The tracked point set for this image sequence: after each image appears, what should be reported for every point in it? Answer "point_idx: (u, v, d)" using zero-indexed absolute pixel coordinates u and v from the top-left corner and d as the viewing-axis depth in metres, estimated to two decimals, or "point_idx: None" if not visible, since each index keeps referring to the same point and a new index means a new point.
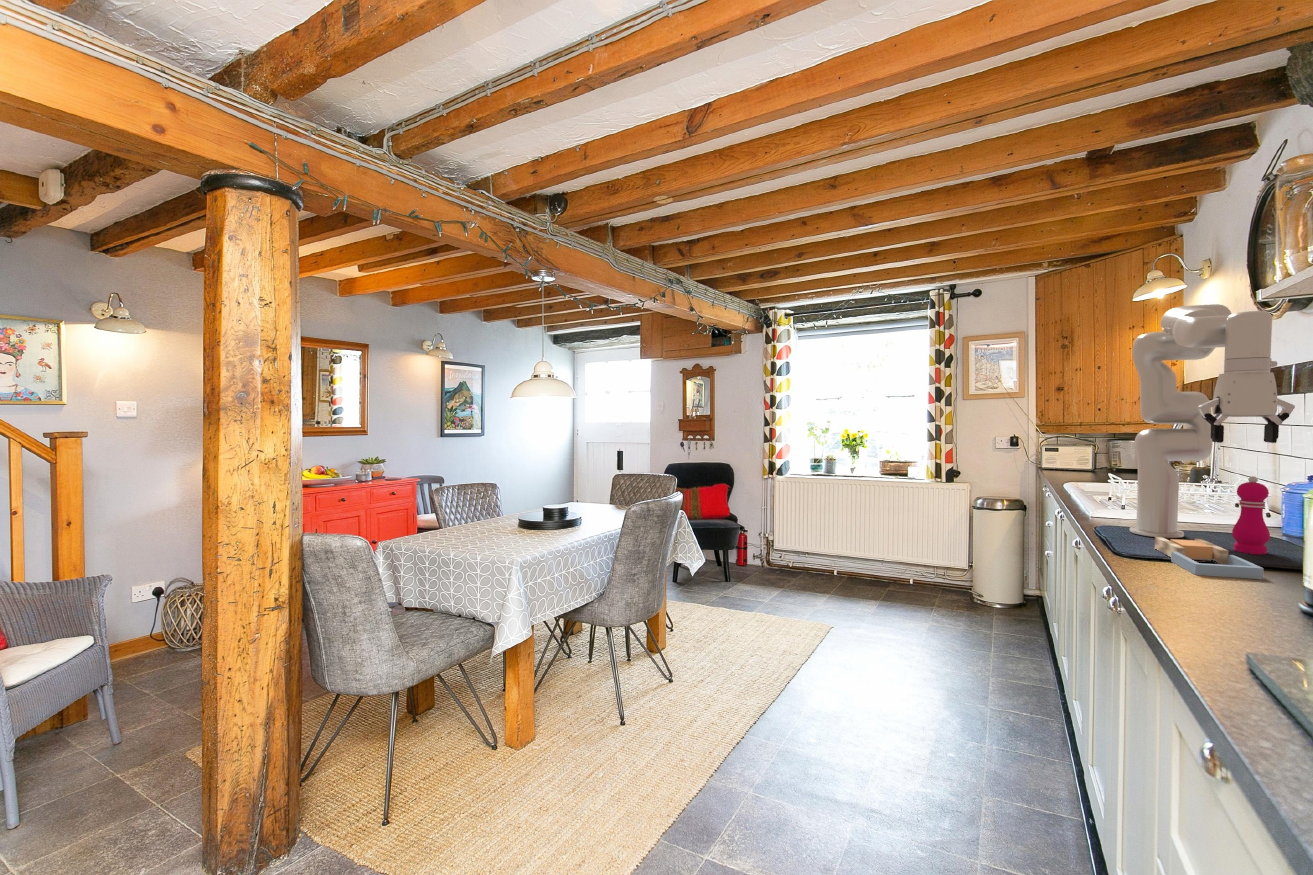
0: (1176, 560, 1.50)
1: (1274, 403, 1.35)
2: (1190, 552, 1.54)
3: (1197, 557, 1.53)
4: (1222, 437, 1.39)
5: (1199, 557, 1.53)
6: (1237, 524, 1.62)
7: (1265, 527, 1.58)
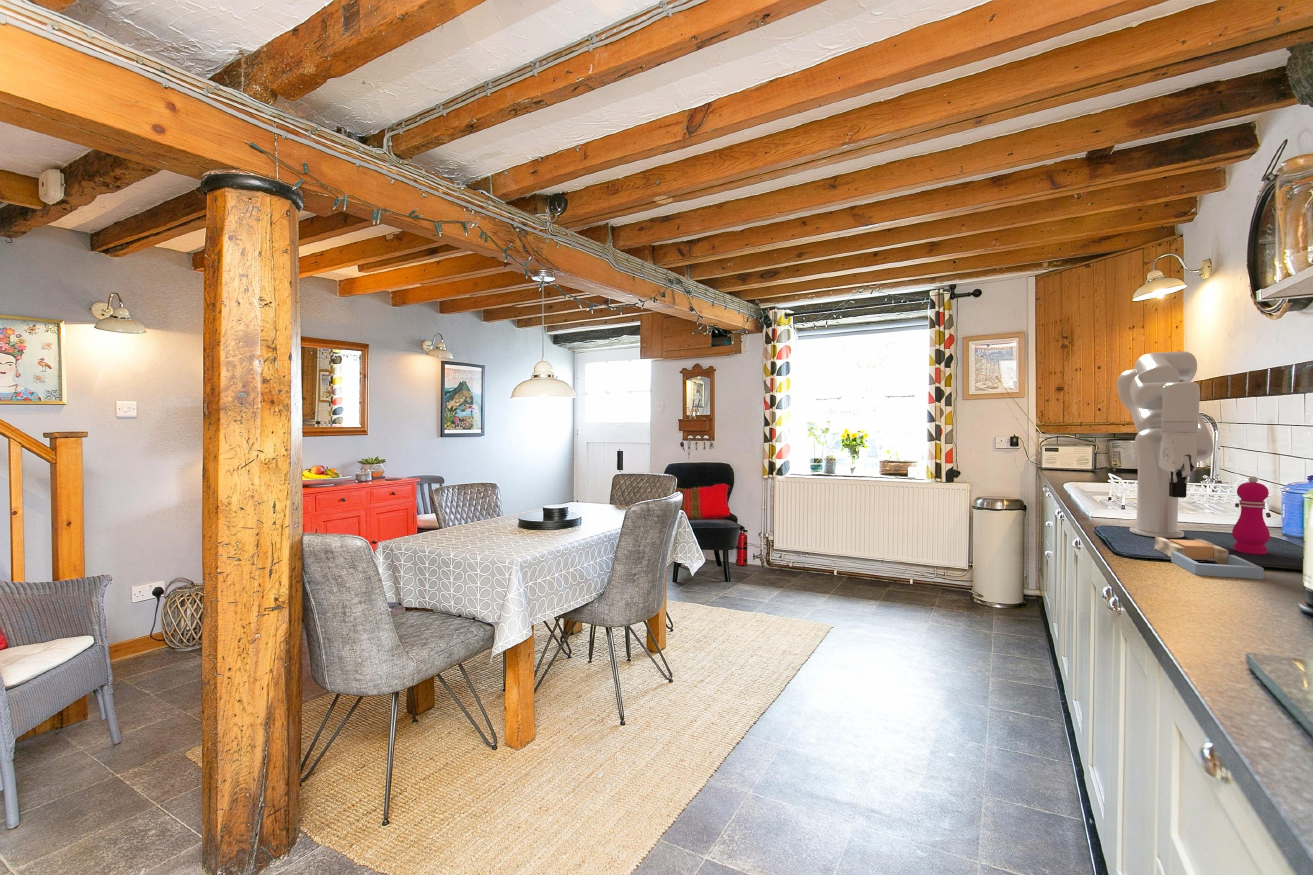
0: (1176, 560, 1.50)
1: None
2: (1192, 552, 1.53)
3: (1199, 557, 1.53)
4: None
5: (1200, 557, 1.53)
6: (1237, 524, 1.62)
7: (1265, 527, 1.58)
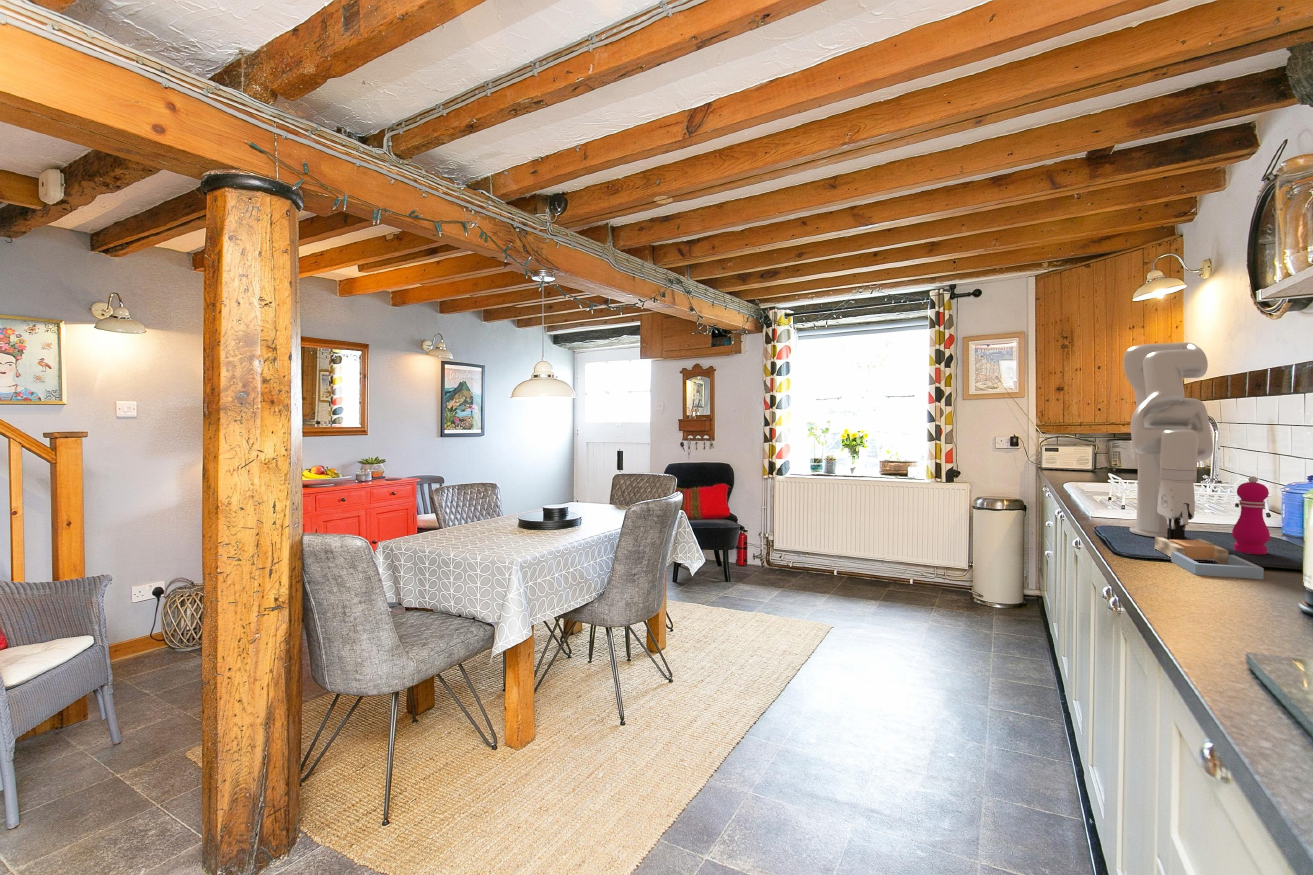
0: (1176, 560, 1.50)
1: None
2: (1193, 552, 1.53)
3: (1199, 557, 1.53)
4: None
5: (1201, 557, 1.53)
6: (1237, 524, 1.62)
7: (1265, 527, 1.58)
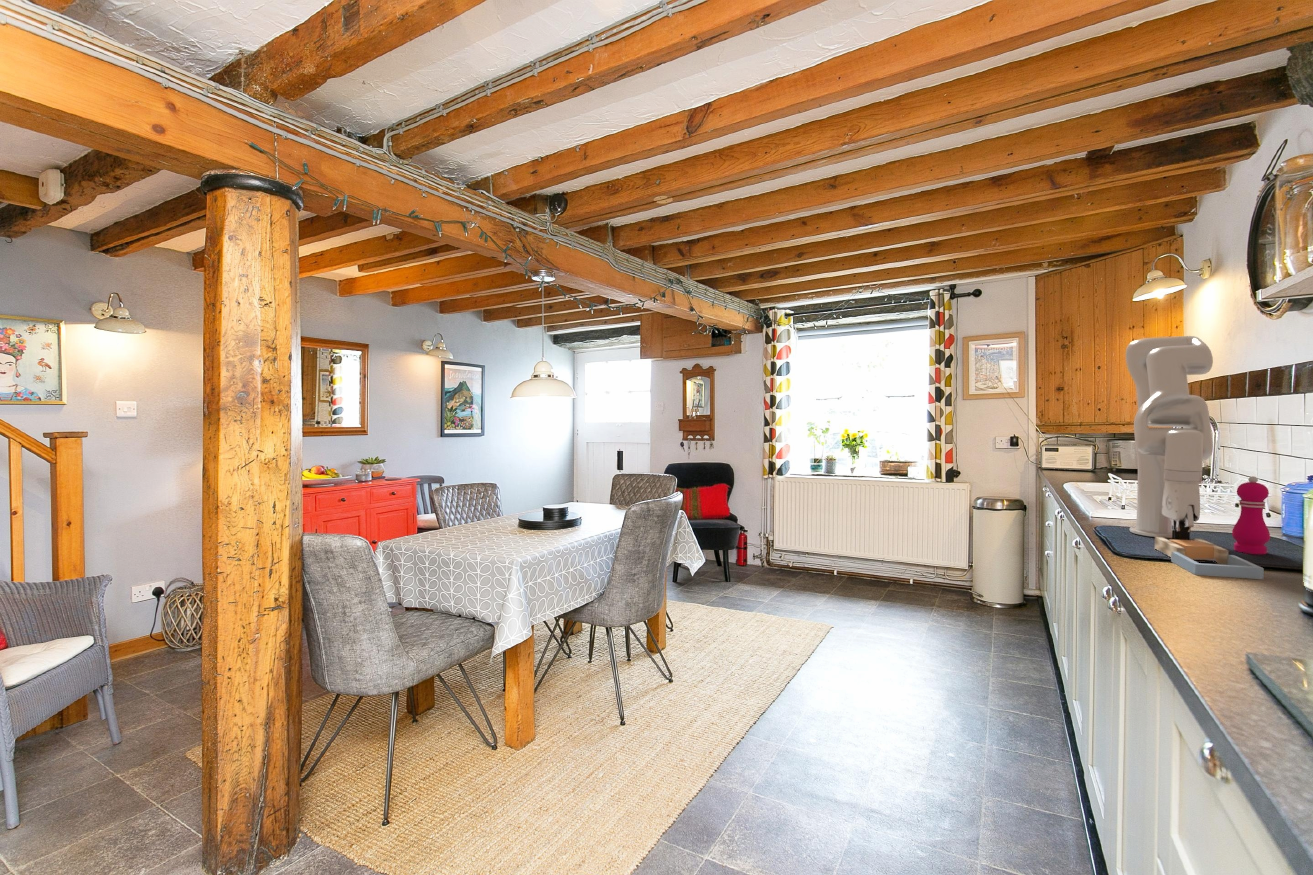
0: (1176, 560, 1.50)
1: None
2: (1193, 552, 1.53)
3: (1199, 557, 1.53)
4: None
5: (1201, 557, 1.53)
6: (1237, 524, 1.62)
7: (1265, 527, 1.58)
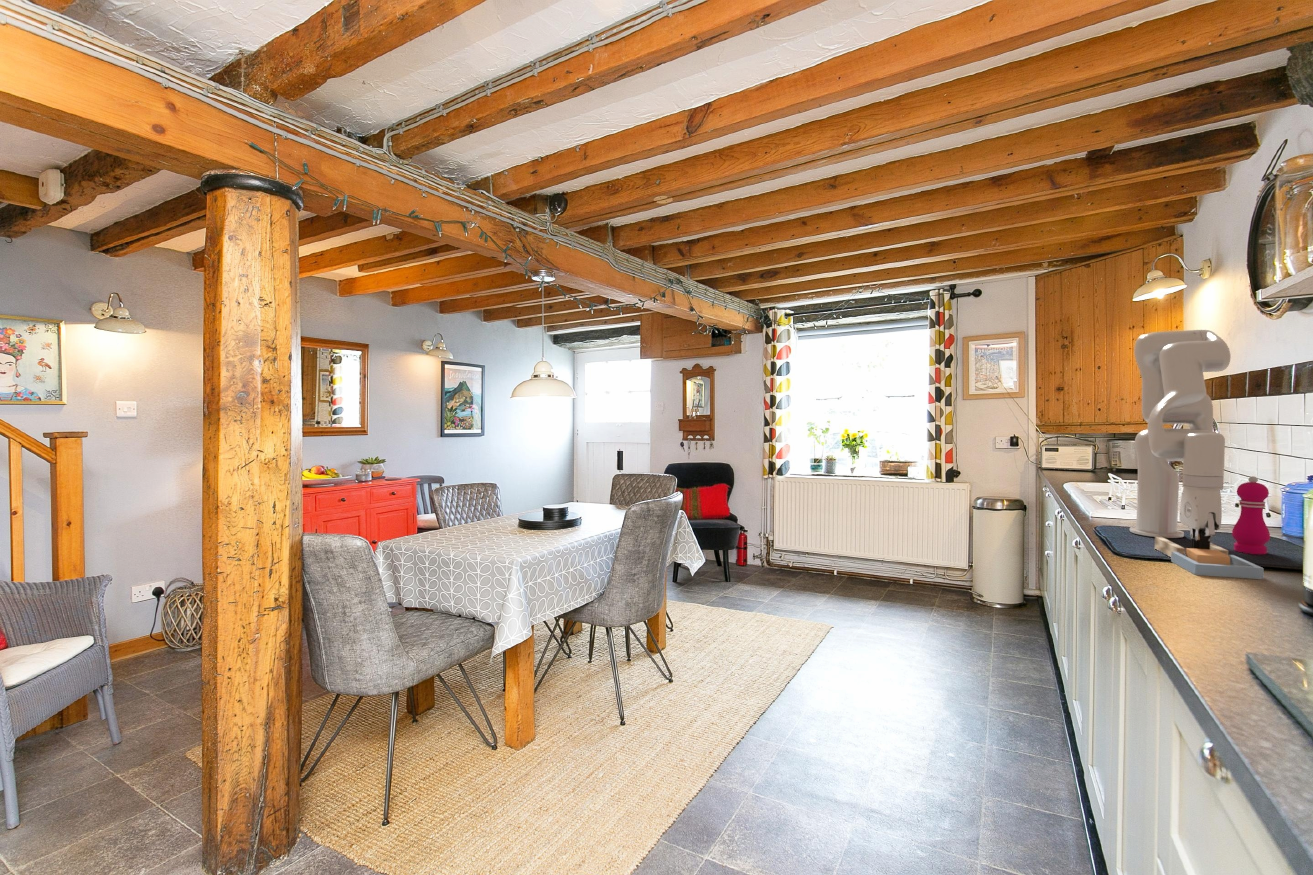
0: (1176, 560, 1.50)
1: None
2: (1206, 562, 1.44)
3: None
4: None
5: None
6: (1237, 524, 1.62)
7: (1265, 527, 1.58)
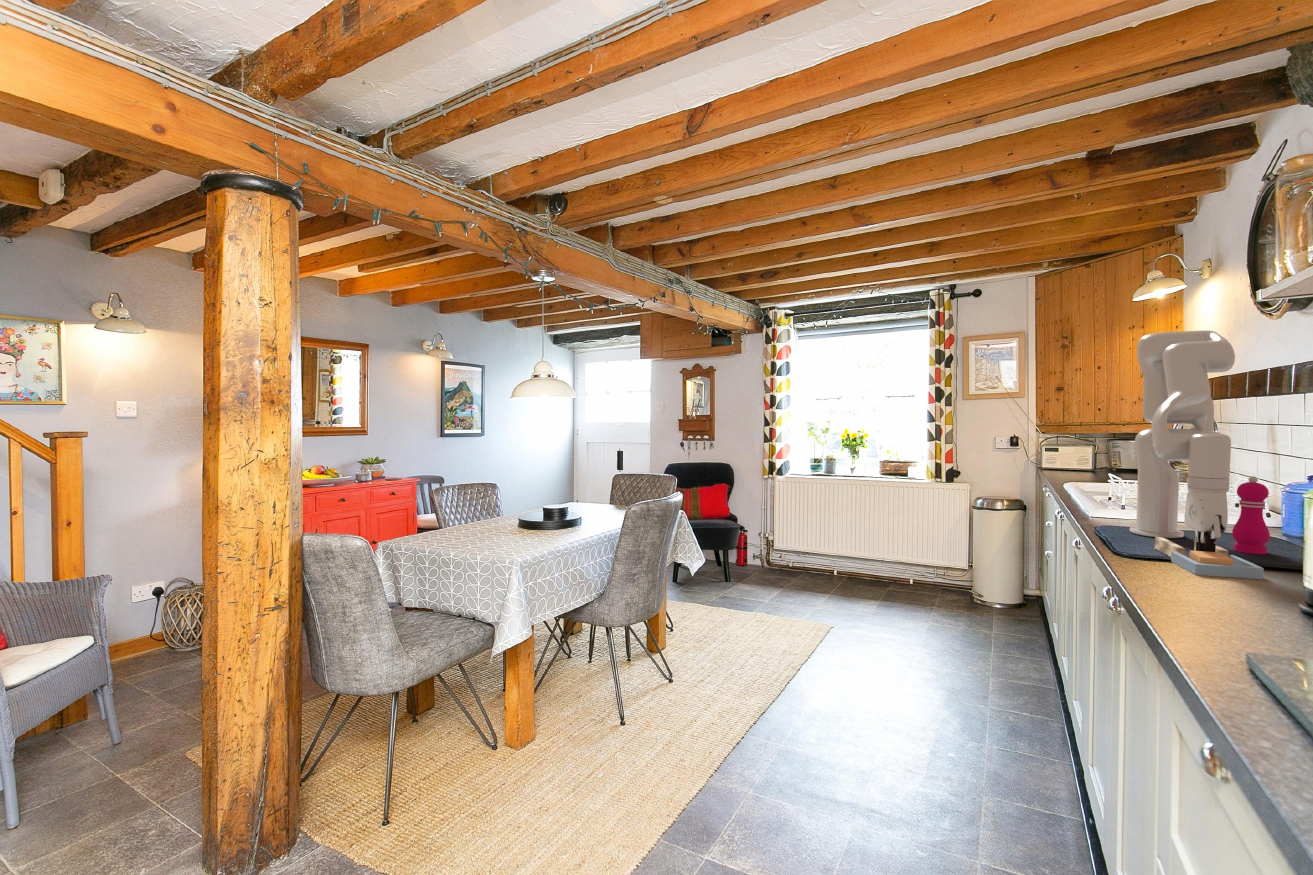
0: (1176, 560, 1.50)
1: None
2: None
3: None
4: None
5: None
6: (1237, 524, 1.62)
7: (1265, 527, 1.58)
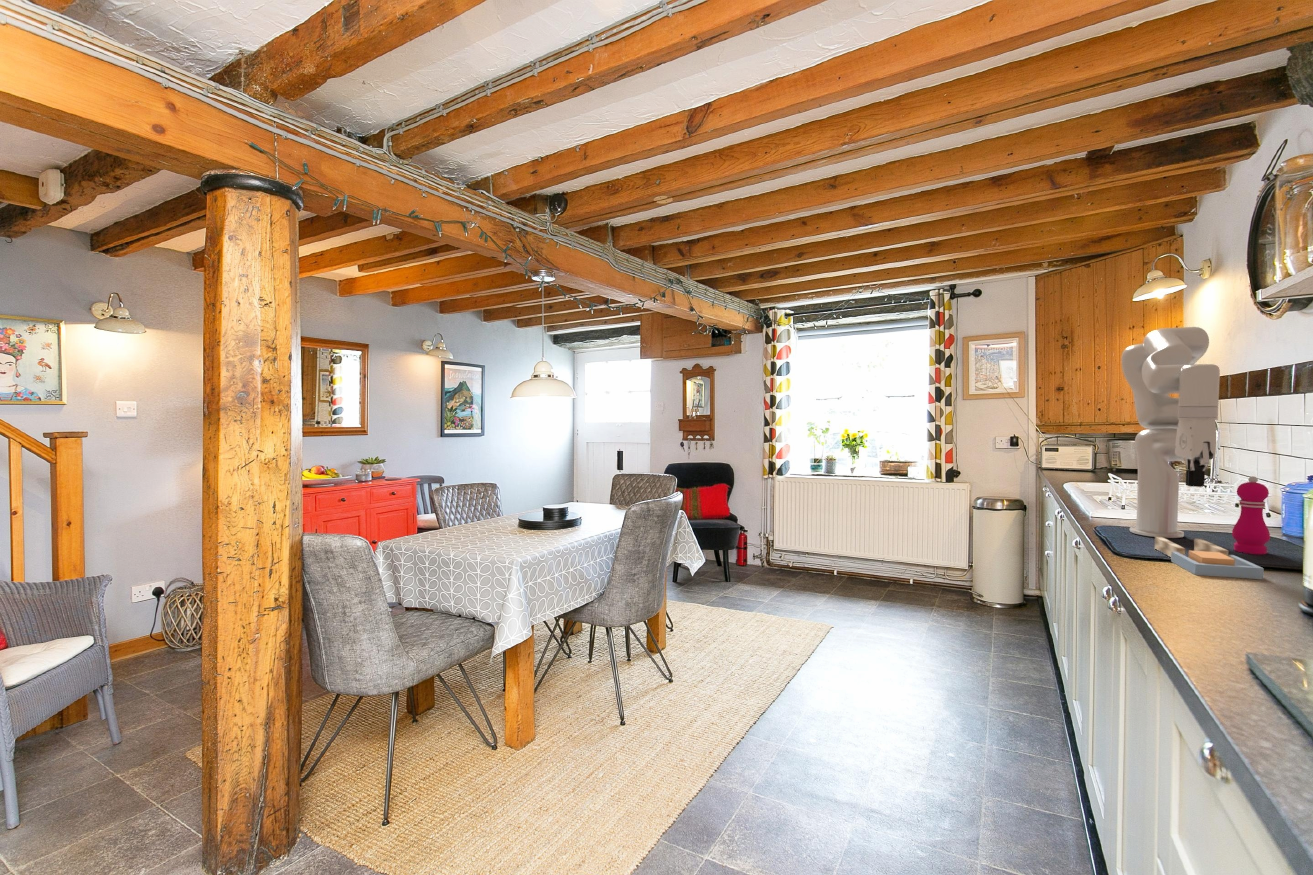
0: (1176, 560, 1.50)
1: None
2: None
3: None
4: None
5: None
6: (1237, 524, 1.62)
7: (1265, 527, 1.58)
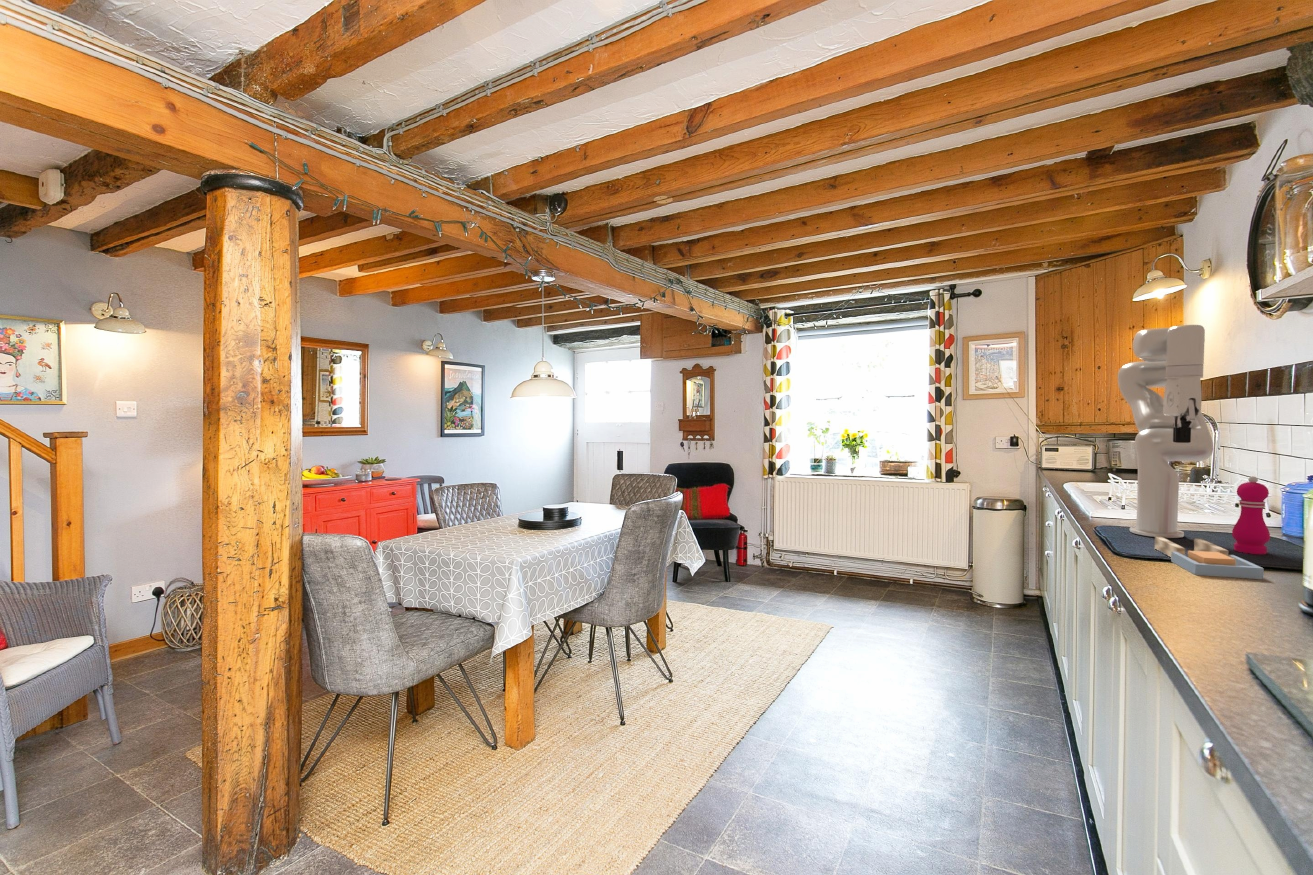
0: (1176, 560, 1.50)
1: None
2: None
3: None
4: None
5: None
6: (1237, 524, 1.62)
7: (1265, 527, 1.58)
